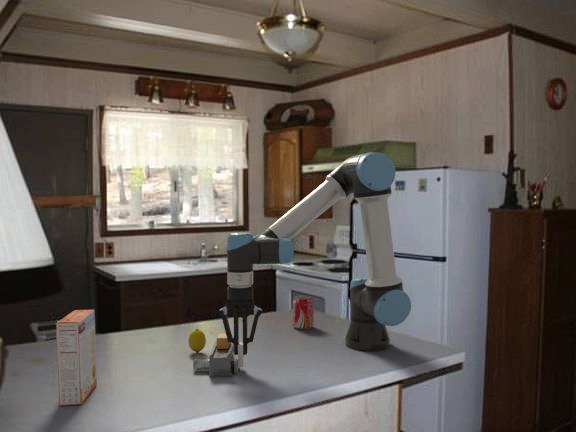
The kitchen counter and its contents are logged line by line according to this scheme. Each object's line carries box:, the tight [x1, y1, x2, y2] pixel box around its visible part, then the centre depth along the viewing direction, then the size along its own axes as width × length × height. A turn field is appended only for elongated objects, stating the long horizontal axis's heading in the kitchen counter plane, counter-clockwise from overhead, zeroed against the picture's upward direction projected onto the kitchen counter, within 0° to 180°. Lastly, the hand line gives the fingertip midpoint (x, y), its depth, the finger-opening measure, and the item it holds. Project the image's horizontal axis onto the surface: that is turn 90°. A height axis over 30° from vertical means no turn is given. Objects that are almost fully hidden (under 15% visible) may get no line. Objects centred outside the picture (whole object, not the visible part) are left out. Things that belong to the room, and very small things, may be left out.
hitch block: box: [208, 340, 236, 378], centre depth 157 cm, size 6×14×6 cm, turn 1°
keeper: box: [216, 333, 231, 349], centre depth 160 cm, size 4×6×3 cm, turn 1°
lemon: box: [188, 328, 207, 354], centre depth 172 cm, size 6×6×8 cm
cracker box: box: [55, 309, 98, 407], centre depth 136 cm, size 14×6×21 cm, turn 5°
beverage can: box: [292, 294, 315, 331], centre depth 205 cm, size 8×8×12 cm
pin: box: [192, 355, 240, 374], centre depth 155 cm, size 13×6×3 cm, turn 91°
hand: (240, 365), depth 155 cm, fingers closed
